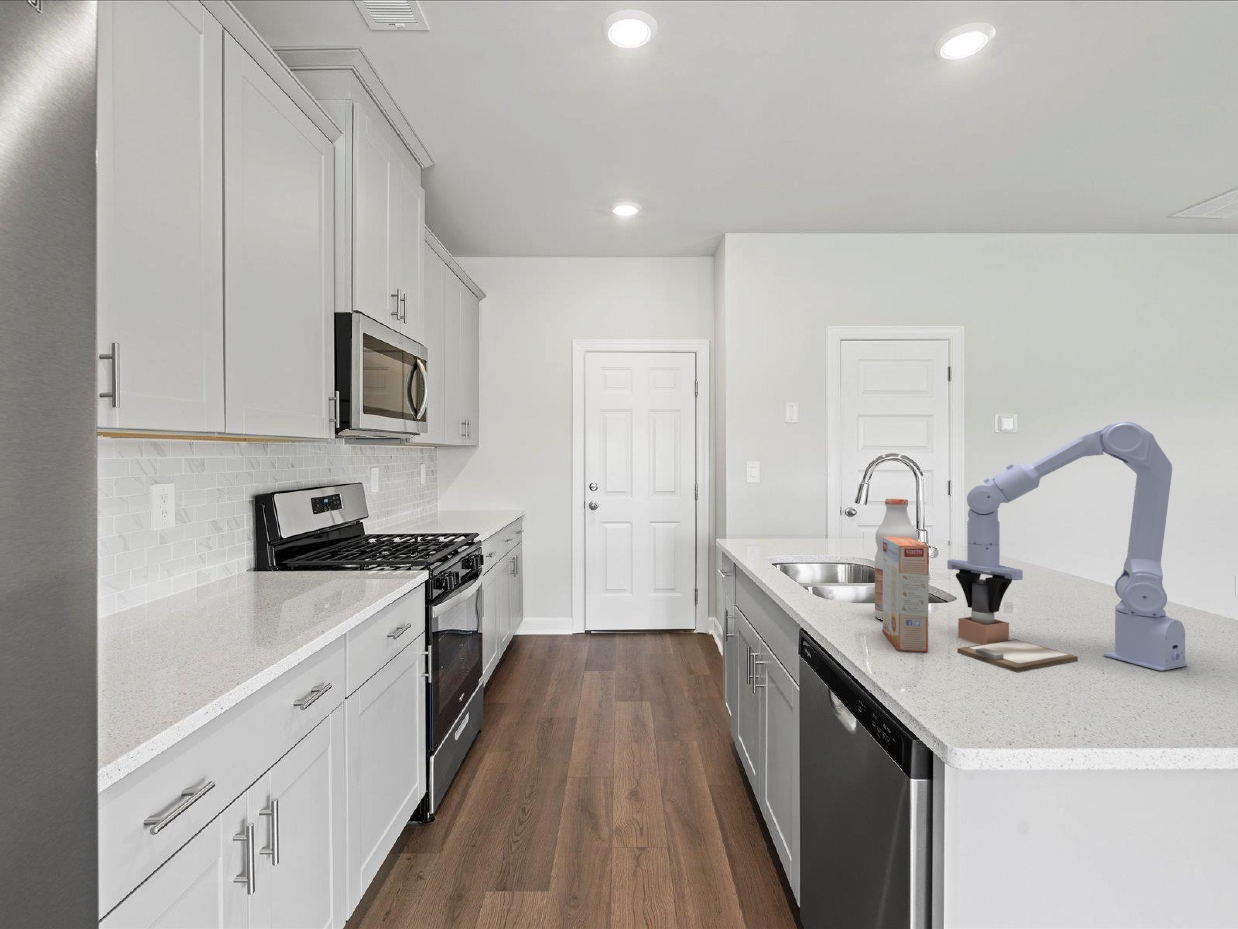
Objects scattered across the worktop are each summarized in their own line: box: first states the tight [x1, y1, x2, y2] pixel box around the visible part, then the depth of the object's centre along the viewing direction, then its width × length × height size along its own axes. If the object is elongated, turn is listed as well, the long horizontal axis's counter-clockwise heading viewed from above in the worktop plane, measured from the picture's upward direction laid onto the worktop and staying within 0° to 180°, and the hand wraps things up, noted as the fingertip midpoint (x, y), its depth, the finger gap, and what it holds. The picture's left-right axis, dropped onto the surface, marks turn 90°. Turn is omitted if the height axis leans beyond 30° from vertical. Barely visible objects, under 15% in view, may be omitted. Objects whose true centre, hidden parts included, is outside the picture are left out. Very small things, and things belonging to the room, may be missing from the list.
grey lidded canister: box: [970, 578, 996, 625], centre depth 128 cm, size 4×4×9 cm
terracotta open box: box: [957, 616, 1010, 645], centre depth 128 cm, size 6×6×4 cm
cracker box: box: [881, 537, 930, 653], centre depth 127 cm, size 14×6×21 cm, turn 168°
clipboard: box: [956, 638, 1079, 673], centre depth 118 cm, size 12×16×2 cm
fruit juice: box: [874, 498, 919, 620], centre depth 145 cm, size 9×9×28 cm
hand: (983, 609), depth 128 cm, fingers closed on grey lidded canister, 4 cm apart
